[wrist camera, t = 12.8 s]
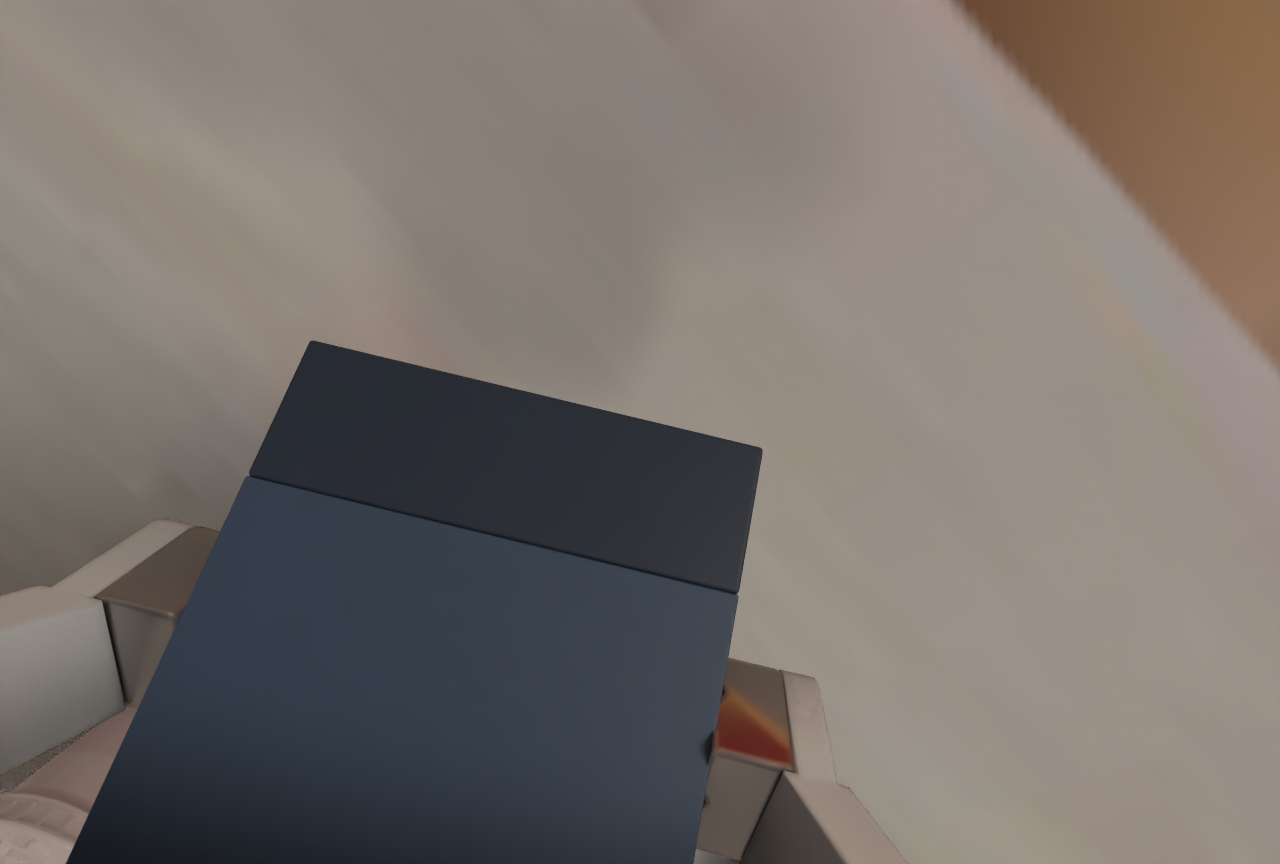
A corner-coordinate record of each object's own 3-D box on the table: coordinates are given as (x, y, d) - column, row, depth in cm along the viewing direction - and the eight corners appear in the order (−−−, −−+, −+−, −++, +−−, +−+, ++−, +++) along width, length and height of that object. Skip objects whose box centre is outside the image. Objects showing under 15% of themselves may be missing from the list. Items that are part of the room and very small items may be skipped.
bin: (428, 466, 15) (309, 337, 8) (694, 531, 14) (764, 447, 8) (297, 829, 12) (-6, 1010, 6) (618, 908, 12) (641, 1173, 6)
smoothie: (237, 724, 31) (-92, 1120, 18) (148, 630, 29) (-292, 1006, 16) (334, 694, 29) (45, 1110, 17) (248, 593, 27) (-158, 980, 15)
